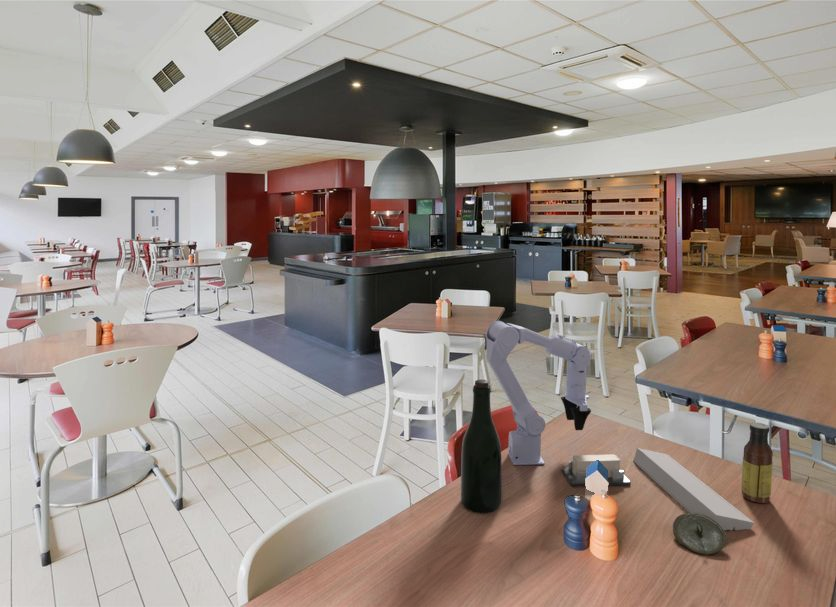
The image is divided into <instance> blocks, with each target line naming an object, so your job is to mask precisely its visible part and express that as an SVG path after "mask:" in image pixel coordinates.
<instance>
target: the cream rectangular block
mask: <svg viewBox="0 0 836 607" xmlns="http://www.w3.org/2000/svg"><path fill="white" fill-rule="evenodd" d="M596 460H599V461H600V462H601V463H602V464H603V465H604V466H605V467H606V468H607V469H608V477H611V476H612V470H621V459H620V458H619V457H618V456H617V455H616V454H611V453H610V454H586V455H585V454H582V455H581V454H580V455H579V454H578V455H577V454H575V455H572V461H573V469H572V472H573V474H574V475H575V477H576V471H586V468H587V467H588V466H589V465H590V464H591V463H593V462H594V461H596Z"/></svg>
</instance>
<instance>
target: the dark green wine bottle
mask: <svg viewBox="0 0 836 607" xmlns="http://www.w3.org/2000/svg"><path fill="white" fill-rule="evenodd" d="M491 393H492V389H491V386H490V385H489V381H488V380H487V379H477V380H475V381H474V385H473V386H472V399H473V400H472V411H471V415H470V416H471V417H470V420H469V423H468V426H467V429H466V430H465V433H464V435H463V438H462V444H461V460H460V461H461V463H460V465H461V466H460V467H461V468H460V501H461V504H462V506H463V507H464V509H465V510H467V511H470V512H472V513H476V514H491V513H493V512H496V511H497V510H499V509H500V507H501V505H502V502H503V498H502V497H503V496H502V495H503V494H502V492H503V478H502V477H503V474H502V473H503V472H502V470H503V469H502V465H503V464H502V462H503V460H502V458H503V457H502V446H501V441H500V436H499V433H498V432H497V429H496V427H495V423H494V420H493V416H492V411H491Z"/></svg>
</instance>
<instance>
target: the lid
mask: <svg viewBox="0 0 836 607" xmlns="http://www.w3.org/2000/svg"><path fill="white" fill-rule="evenodd" d="M672 531H673V535H674V538H675V540H676V541H677V543H679V544H680V545H681V546H682V547H684V548H685V549H687V550H689V551H691V552H693V553H697V554H700V555H713V554H716V553H719V552H721V551H722V550H723V549H724V548H725V547H726V545H727V541H728V539H727V533H726V532H725V531H724V530H723V529H722V527H721V526H720V525H719V524H718V523H717V522H715V521H714V520H713V519H711V518H709V517H707V516H705V515H702V514H698V513H689V512H686V513H682V514H679V515H678V516H676V518H675V519H674V520H673V523H672Z"/></svg>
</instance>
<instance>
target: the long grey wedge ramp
mask: <svg viewBox="0 0 836 607" xmlns="http://www.w3.org/2000/svg"><path fill="white" fill-rule="evenodd" d="M632 462H634V463H635V464H636V465H637V466H638V467H639V468H640V469H641V470H642V471H643V472H645V473H646V474H647V475H648V477H650V478H651V479H652V480H653V481H654V482H656V484H657V485H658V486H660V487H661V488H662V489H663V490H664V491H665V492H666V493H667V494H669V496H671V497H672V499H674V500H675V501H676V503H678V504H679V505H680V506H681V507H682V508H683V509H685V510H686V511H687V513H698V514H702V515H705V516H707V517H709V518H711V519H713V520H714V521H715V522H717V523H718V524H719V525H720V526H721V527H722V529H723V530H724V532H725V531H727V530H729V531H733V530H734V531H744V530H751V529H752V527H753V526H754V524H755V522H754V521H753V520H752V519H750V517H748V516H747V515H745V514H744V513H742V511H740V510H739V509H737V507H735V506H734V505H732V504H731V503H730V502H729V501H727V500H726V499H725V498H724V497H722V496H721V495H719V493H717V492H716V491H715V490H714V489H712V488H711V487H710V486H708V485H707V484H706V483H704V482H703V481H702V480H701V479H700V478H698V477H697V476H695V475H694V474H693V473H692V472H691V471H689V470H688V469H687V468H685V467H684V466H683V465H681V464H680V463H679V462H678V461H676V460H675V459H674V458H673V457H671V455H669V454H667V453H661V452H657V451H653V450H649V449H645V448H639V447H637V448H636V450H635V454H634V457H633V460H632Z"/></svg>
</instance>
